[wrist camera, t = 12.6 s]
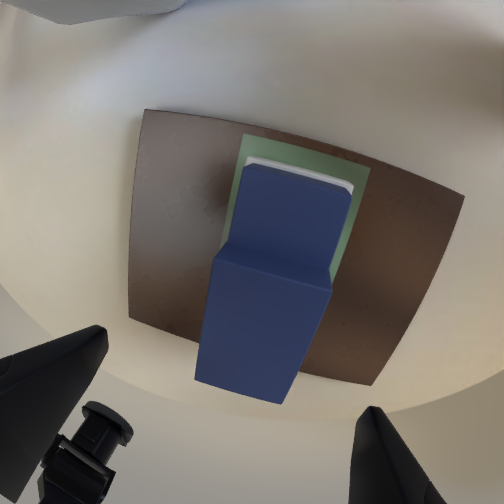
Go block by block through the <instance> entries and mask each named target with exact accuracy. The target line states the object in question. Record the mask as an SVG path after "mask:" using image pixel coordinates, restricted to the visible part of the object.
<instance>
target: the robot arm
mask: <svg viewBox="0 0 504 504" xmlns="http://www.w3.org/2000/svg"><path fill="white" fill-rule="evenodd" d="M108 348H109V343H108V335H107V330H106V329H105V328H103V327H101V326H99V325H93V326H90V327H87V328H85V329H82V330H79V331H77V332H74V333H71V334H68V335H66V336H63V337H60V338H57V339H55V340H52V341H50V342H46V343H44V344H41V345H38V346H35V347H33V348H30V349H27V350H24V351H21V352H19V353H16V354H13V356H12V355H10V356H7V357H4V358H2V359H0V494H1V495H3V496H4V497H6V498H7V499H9V500H10V501H12V502H13V503H16V502H17V500H18V499H19V497H20V495H21V493H22V491H23V490H24V488H25V486H26V484H27V483H28V481H29V479H30V477H31V476H32V474H33V472H34V471H35V469H36V467H37V465H38V464H39V462H40V460H41V459H42V460H41V462H42V463H41V465H40V466H41V467H42V468H43V469H44V471H43V472H42V474H41V475H40V477H39V479H38V481H37V482H38V491H39V498H40V502H39V503H38V504H100V503H101V502H102V501H103V499H104V498H105V496H106V495H107V492H108V490H109V488H110V485H111V483H112V481H113V478H114V476H115V474H116V472H115V471H113V470H111V469H109V468H108V467H106V464H107V462H108V461H109V459H110V457H111V455H112V454H113V452H114V450H115V449H116V447H117V445H118V444H120V445H122V446H125V447H126V445H127V442H126V439H125V435H124V431H123V427H122V426H121V425H120V424H118V423H116V422H114V421H112V420H110V419H108V418H106V417H104V416H102V415H101V414H99V413H97V412H95V411H93V410H91V409H90V408H88V407H86V406H84V405H83V406H82V411H83V413H84V416H85V418H86V419H85V420H84V422H83V423H82V425H81V426H80V427H79V429H78V430H77V432H76V433H75V434H74V436H73V437H72V439H71V440H69V439H67V438H66V437H65V436H64V435H63V434H62V435H59V434H58V432H59V430H60V428H61V427H62V425H63V424H64V422H65V421H66V419H67V418H68V416H69V415H70V413H71V412H72V410H73V409H74V407H75V406H76V404H77V402H78V401H79V400H80V398H81V397H82V395H83V394H84V392H85V391H86V389H87V388H88V386H89V385H90V383H91V381H92V380H93V378H94V376H95V374H96V372H97V370H98V368H99V366H100V365H101V363H102V361H103V359H104V357H105V355H106V354H107V352H108ZM59 446H62V447H63V448H64V449H63V448H60V447H59ZM348 504H447V503H446V502H445V501H444V499H443V498H442V497H441V495H440V494H439V493H438V491H437V490H436V488H435V487H434V485H433V484H432V482H431V481H429V478H428V476H427V475H426V473H425V472H424V471H423V469H422V468H421V466H420V464H419V463H418V462H417V460H416V458H415V457H414V456H413V454H412V453H411V451H410V450H409V448H408V447H407V445H406V444H405V442H404V441H403V439H402V438H401V436H400V435H399V433H398V432H397V431H396V429H395V428H394V426H393V425H392V423H391V422H390V420H389V419H388V418H387V416H386V414H385V413H384V412H383V410H382V409H381V408H380V407H375V406H369V407H367V409H366V410H365V411H364V412H363V414H362V415H361V416H360V417H359V419H358V421H357V423H356V427H355V436H354V443H353V451H352V457H351V467H350V487H349V502H348Z"/></svg>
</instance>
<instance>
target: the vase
mask: <svg viewBox="0 0 504 504" xmlns="http://www.w3.org/2000/svg"><path fill="white" fill-rule="evenodd" d="M188 1H189V0H0V2H3V3H6V4H9V5H11V6H14V7H17V8H19V9H22V10H24V11H27V12H29V13H32V14H34V15H37V16H39V17H42V18H45V19H47V20H50V21H53V22H55V23H58V24H67V25H72V24H77V23H82V22H88V21H94V20H100V19H106V18H114V17H122V16H131V15H143V14H158V13H166V12H171V11H174V10H177V9H178V8H180V7H181V6H182V5H184V4H185V3H186V2H188Z"/></svg>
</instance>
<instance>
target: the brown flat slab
mask: <svg viewBox="0 0 504 504" xmlns="http://www.w3.org/2000/svg"><path fill="white" fill-rule="evenodd" d="M249 156H257V157H261V158H266V159H270V160H274V161H278V162H282V163H286V164H290V165H293V166H297V167H301V168H304V169H308V170H312V171H315V172H319V173H322V174H326V175H329V176H332V177H336V178H339V179H342V180H346V181H349V182H350V183H351V184H352V185H353V186H354V188H353V191H352V196H353V199H352V202H351V206H350V209H349V212H348V215H347V218H346V221H345V224H344V227H343V231H342V234H341V237H340V240H339V242H338V245H337V248H336V251H335V254H334V257H333V260H332V263H331V265H330V268H329V269H330V276H331V284H332V295H331V297H330V300H329V302H328V305H327V307H326V309H325V312H324V314H323V317H322V319H321V321H320V324H319V326H318V328H317V331H316V333H315V335H314V338H313V340H312V342H311V344H310V347H309V349H308V351H307V353H306V355H305V358H304V360H303V362H302V364H301V366H300V368H299V370H298V371H299V372H303V373H308V374H312V375H317V376H321V377H326V378H331V379H336V380H341V381H346V382H352V383H357V384H363V385H369V386H371V385H372V384H373V382H374V381H375V380H376V378H377V377H378V375H379V374H380V372H381V371H382V369H383V367H384V366H385V364H386V363H387V361H388V360H389V358H390V357H391V355H392V353H393V352H394V350H395V348H396V347H397V345H398V343H399V342H400V340H401V338H402V337H403V335H404V333H405V331H406V330H407V328H408V326H409V324H410V323H411V321H412V319H413V317H414V315H415V313H416V311H417V310H418V308H419V306H420V304H421V302H422V300H423V298H424V296H425V294H426V292H427V290H428V288H429V286H430V284H431V281H432V279H433V277H434V275H435V273H436V271H437V268H438V266H439V264H440V262H441V259H442V257H443V255H444V252H445V250H446V247H447V245H448V242H449V240H450V237H451V235H452V232H453V229H454V227H455V224H456V221H457V219H458V216H459V213H460V210H461V207H462V204H463V201H464V198H465V196H464V195H461V194H459V193H457V192H455V191H453V190H451V189H449V188H446V187H444V186H442V185H440V184H437V183H435V182H433V181H430V180H428V179H426V178H423V177H421V176H418V175H416V174H413V173H411V172H408V171H406V170H403V169H401V168H398V167H395V166H393V165H390V164H387V163H385V162H382V161H379V160H376V159H373V158H370V157H368V156H365V155H362V154H359V153H356V152H352V151H349V150H346V149H343V148H340V147H336V146H333V145H330V144H326V143H323V142H319V141H316V140H312V139H308V138H305V137H301V136H297V135H293V134H289V133H285V132H281V131H277V130H272V129H268V128H263V127H259V126H254V125H249V124H244V123H239V122H234V121H229V120H223V119H217V118H211V117H205V116H198V115H191V114H184V113H176V112H168V111H159V110H149V109H145V110H144V115H143V121H142V127H141V133H140V139H139V146H138V153H137V160H136V168H135V177H134V186H133V196H132V208H131V221H130V239H129V269H128V304H129V318H132V319H134V320H137V321H139V322H142V323H145V324H147V325H150V326H152V327H155V328H158V329H160V330H163V331H166V332H168V333H171V334H174V335H177V336H180V337H182V338H185V339H188V340H191V341H194V342H197V343H200V336H201V330H202V323H203V317H204V311H205V304H206V298H207V292H208V286H209V280H210V274H211V269H212V263H213V259H214V257H215V256H216V255H217V253H218V252H219V251H220V249H221V248H222V247H223V245H224V244H225V243H226V242H227V240H228V236H229V231H230V226H231V222H232V217H233V212H234V207H235V202H236V197H237V193H238V188H239V183H240V179H241V174H242V169H243V167H245V163H246V159H247V157H249Z"/></svg>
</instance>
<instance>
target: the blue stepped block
mask: <svg viewBox="0 0 504 504" xmlns="http://www.w3.org/2000/svg"><path fill="white" fill-rule="evenodd" d="M353 188H354V186H353V185H352V184H351V183H350V182H349V181H346V180H342V179H339V178H336V177H332V176H329V175H326V174H322V173H319V172H315V171H312V170H308V169H304V168H301V167H297V166H293V165H290V164H286V163H282V162H278V161H274V160H270V159H266V158H261V157H257V156H249V157H247V159H246V163H245V167H243V169H242V174H241V179H240V183H239V188H238V193H237V197H236V202H235V207H234V212H233V217H232V222H231V226H230V231H229V236H228V240H227V242H226V243H225V244H224V245H223V247H222V248H221V249H220V251H219V252H218V253H217V255H216V256H215V257H214V259H213V263H212V269H211V274H210V280H209V286H208V292H207V298H206V304H205V311H204V317H203V323H202V330H201V336H200V343H199V350H198V357H197V364H196V371H195V380H197V381H200V382H203V383H206V384H209V385H212V386H215V387H218V388H221V389H225V390H228V391H231V392H235V393H238V394H242V395H245V396H249V397H253V398H256V399H260V400H264V401H268V402H272V403H277V404H282V403H283V401H284V399H285V397H286V395H287V393H288V391H289V389H290V387H291V385H292V383H293V381H294V379H295V377H296V375H297V373H298V370H299V368H300V366H301V364H302V362H303V360H304V358H305V355H306V353H307V351H308V349H309V347H310V344H311V342H312V340H313V338H314V335H315V333H316V331H317V328H318V326H319V324H320V321H321V319H322V317H323V314H324V312H325V309H326V307H327V305H328V302H329V300H330V297H331V295H332V284H331V276H330V269H329V268H330V265H331V263H332V260H333V257H334V254H335V251H336V248H337V245H338V242H339V240H340V237H341V234H342V231H343V227H344V224H345V221H346V218H347V215H348V212H349V209H350V206H351V202H352V199H353V196H352V191H353Z"/></svg>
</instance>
